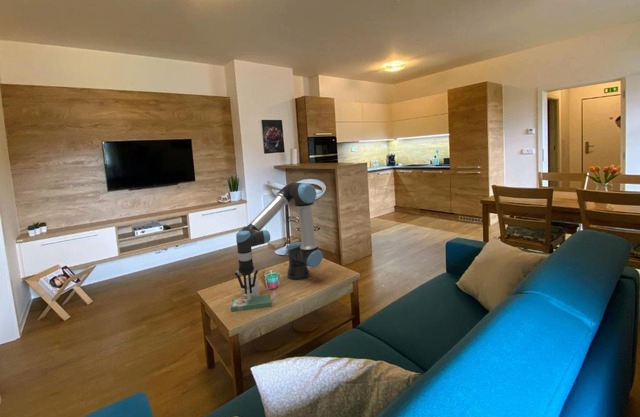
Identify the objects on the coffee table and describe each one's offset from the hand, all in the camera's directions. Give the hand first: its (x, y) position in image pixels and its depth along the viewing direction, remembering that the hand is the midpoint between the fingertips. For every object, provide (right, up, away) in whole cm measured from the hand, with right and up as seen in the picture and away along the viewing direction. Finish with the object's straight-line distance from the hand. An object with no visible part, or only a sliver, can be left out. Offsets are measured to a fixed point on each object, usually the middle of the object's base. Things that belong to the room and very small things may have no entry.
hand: (249, 298), depth 190 cm
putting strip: (+1, -4, +1) cm, 4 cm away
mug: (-2, -2, +11) cm, 11 cm away
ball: (-5, -3, 0) cm, 6 cm away
